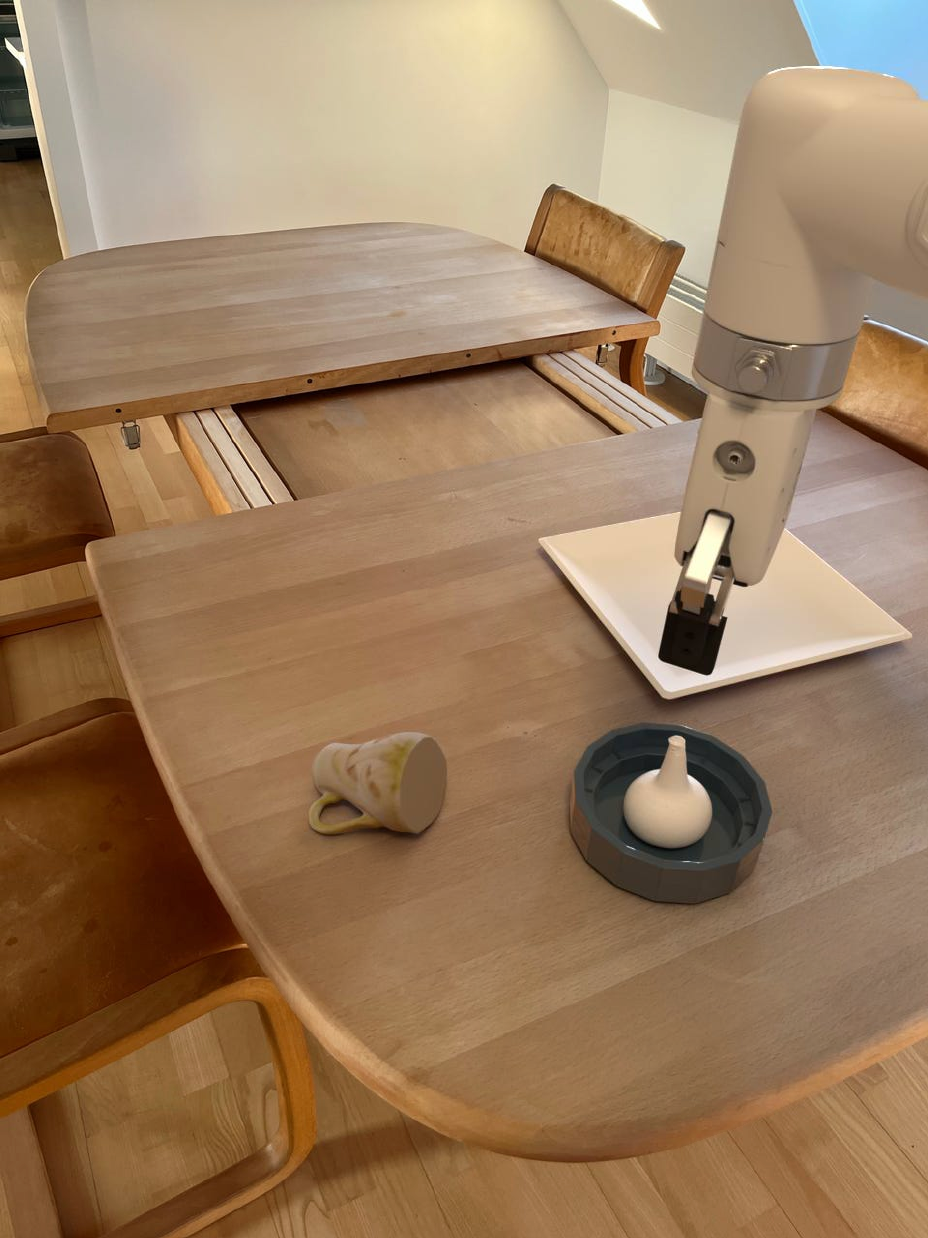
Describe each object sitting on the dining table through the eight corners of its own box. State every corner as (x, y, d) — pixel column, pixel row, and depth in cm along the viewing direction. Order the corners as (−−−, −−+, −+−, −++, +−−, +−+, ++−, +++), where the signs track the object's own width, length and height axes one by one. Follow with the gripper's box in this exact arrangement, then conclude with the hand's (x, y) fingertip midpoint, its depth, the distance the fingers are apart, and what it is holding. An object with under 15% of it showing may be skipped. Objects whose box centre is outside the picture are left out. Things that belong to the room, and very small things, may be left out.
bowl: (775, 796, 72) (787, 760, 69) (733, 937, 62) (746, 900, 60) (605, 737, 76) (610, 701, 74) (541, 860, 67) (545, 823, 64)
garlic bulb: (657, 871, 66) (676, 793, 61) (603, 811, 70) (616, 733, 65) (725, 836, 68) (747, 759, 63) (668, 780, 72) (686, 704, 68)
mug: (331, 751, 75) (392, 673, 69) (418, 838, 73) (487, 764, 68) (273, 796, 69) (335, 713, 63) (367, 891, 67) (438, 814, 62)
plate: (746, 512, 106) (750, 496, 104) (908, 652, 86) (915, 634, 85) (535, 553, 98) (536, 536, 97) (661, 716, 79) (665, 698, 77)
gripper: (819, 439, 40) (734, 728, 50) (870, 314, 52) (793, 566, 63) (649, 400, 42) (602, 683, 53) (737, 290, 55) (684, 537, 65)
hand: (706, 620), depth 58 cm, fingers open, 9 cm apart
